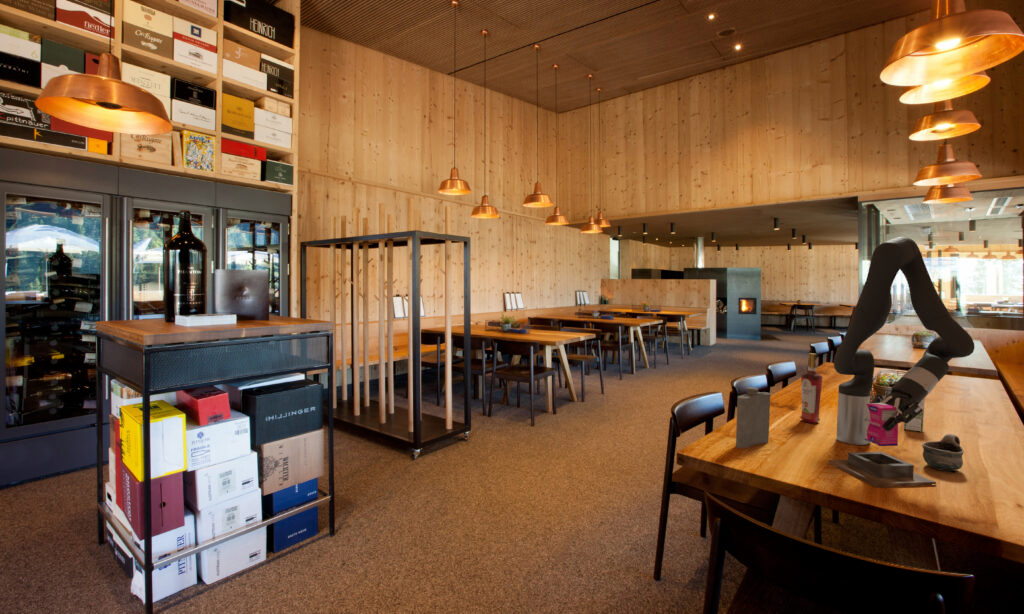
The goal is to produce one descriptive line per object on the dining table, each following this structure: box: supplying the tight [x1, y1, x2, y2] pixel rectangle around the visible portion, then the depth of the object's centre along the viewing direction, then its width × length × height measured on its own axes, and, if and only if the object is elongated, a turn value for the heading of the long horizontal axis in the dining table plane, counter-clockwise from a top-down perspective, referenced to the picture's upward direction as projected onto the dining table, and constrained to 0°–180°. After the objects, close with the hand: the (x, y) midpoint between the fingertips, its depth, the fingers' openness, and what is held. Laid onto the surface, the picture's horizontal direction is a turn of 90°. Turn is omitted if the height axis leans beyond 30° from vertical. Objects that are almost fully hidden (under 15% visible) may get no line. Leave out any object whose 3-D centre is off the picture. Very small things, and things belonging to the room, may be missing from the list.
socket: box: [828, 451, 937, 488], centre depth 144 cm, size 18×18×4 cm
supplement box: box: [865, 402, 899, 447], centre depth 143 cm, size 6×6×12 cm
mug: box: [922, 433, 965, 472], centre depth 149 cm, size 10×12×10 cm
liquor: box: [799, 352, 823, 424], centre depth 197 cm, size 7×7×28 cm
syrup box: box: [903, 397, 926, 433], centre depth 187 cm, size 6×6×14 cm
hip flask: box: [735, 386, 771, 450], centre depth 169 cm, size 16×4×20 cm, turn 120°
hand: (876, 425), depth 143 cm, fingers closed on supplement box, 5 cm apart
